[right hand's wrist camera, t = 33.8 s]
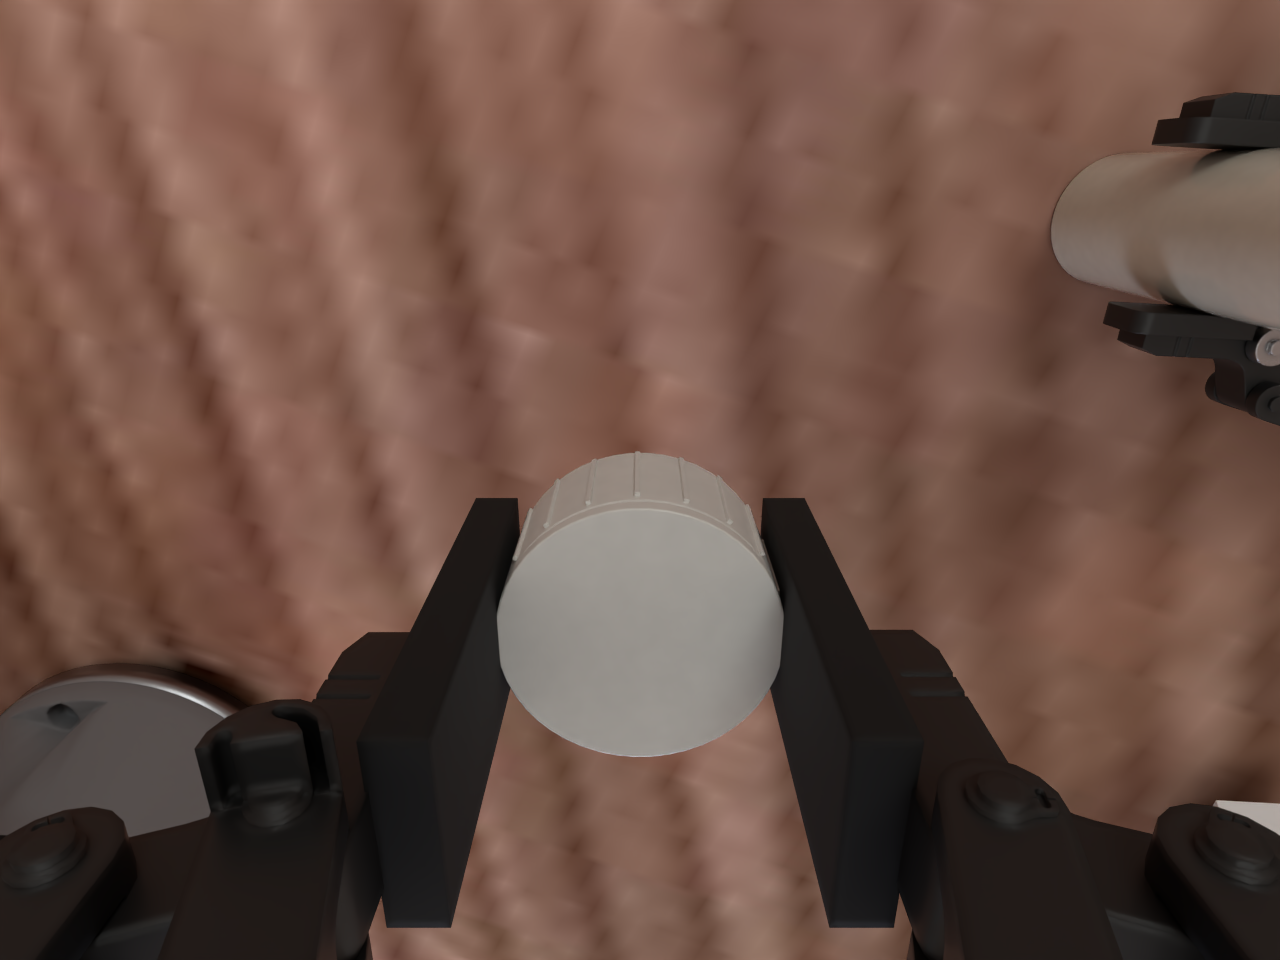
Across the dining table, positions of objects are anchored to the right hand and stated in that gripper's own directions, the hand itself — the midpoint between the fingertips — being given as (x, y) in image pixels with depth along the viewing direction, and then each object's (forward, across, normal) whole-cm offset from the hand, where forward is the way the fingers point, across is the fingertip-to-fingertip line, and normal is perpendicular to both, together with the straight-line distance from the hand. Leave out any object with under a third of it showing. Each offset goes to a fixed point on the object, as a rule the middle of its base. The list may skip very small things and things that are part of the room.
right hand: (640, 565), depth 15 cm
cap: (-2, 0, 0) cm, 2 cm away
